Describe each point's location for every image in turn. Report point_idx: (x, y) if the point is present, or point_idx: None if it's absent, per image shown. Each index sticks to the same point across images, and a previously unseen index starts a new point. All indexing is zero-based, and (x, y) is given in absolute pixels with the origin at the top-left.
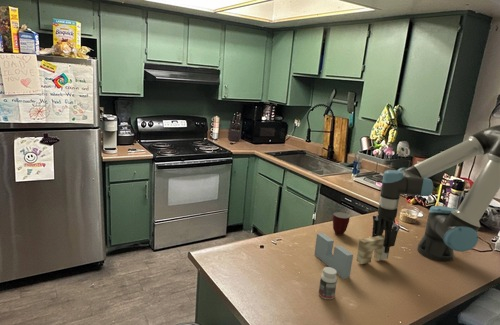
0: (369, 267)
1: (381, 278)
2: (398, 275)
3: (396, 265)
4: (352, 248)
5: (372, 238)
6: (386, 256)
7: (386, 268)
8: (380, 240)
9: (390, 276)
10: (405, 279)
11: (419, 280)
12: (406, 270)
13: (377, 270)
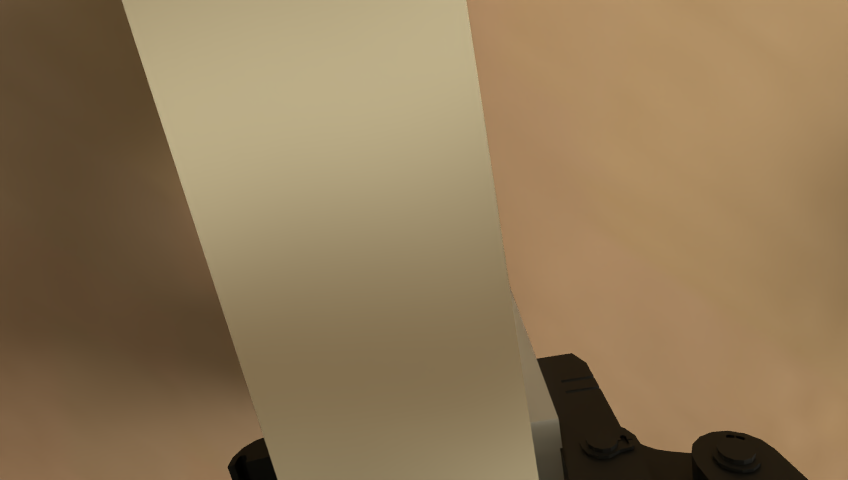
0: None
1: (4, 62)
2: (98, 325)
3: None
4: (843, 108)
5: (389, 248)
6: None
7: None
8: (292, 466)
9: (66, 216)
10: (20, 350)
11: (19, 475)
12: (208, 471)
13: None
